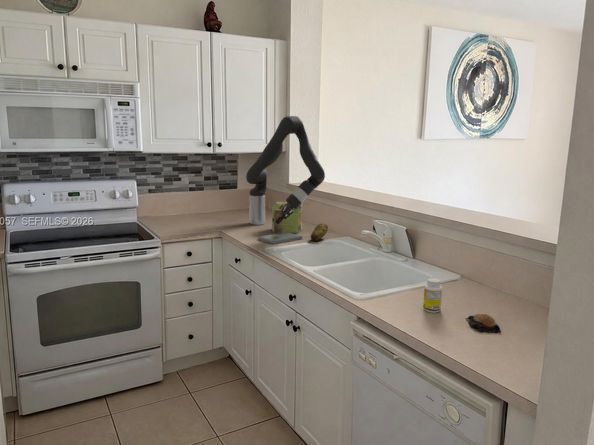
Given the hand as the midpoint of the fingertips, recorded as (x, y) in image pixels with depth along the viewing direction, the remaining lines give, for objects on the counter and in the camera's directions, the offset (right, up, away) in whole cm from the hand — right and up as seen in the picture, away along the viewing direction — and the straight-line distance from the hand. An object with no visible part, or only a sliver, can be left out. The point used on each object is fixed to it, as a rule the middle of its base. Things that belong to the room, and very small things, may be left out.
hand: (274, 222), depth 247 cm
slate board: (+3, -9, +3) cm, 10 cm away
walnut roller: (+2, -5, +2) cm, 6 cm away
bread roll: (+67, -32, -102) cm, 127 cm away
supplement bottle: (+55, -29, -91) cm, 110 cm away
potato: (+23, -9, +4) cm, 25 cm away
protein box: (+6, -5, +25) cm, 26 cm away
